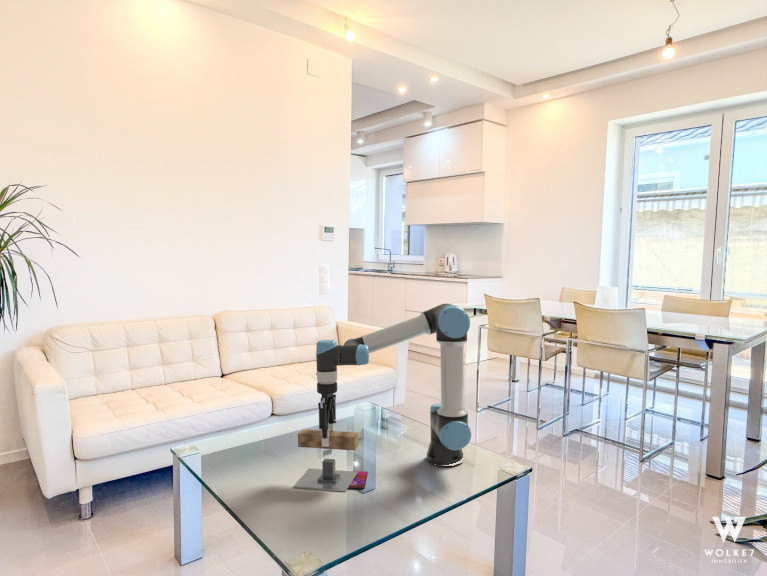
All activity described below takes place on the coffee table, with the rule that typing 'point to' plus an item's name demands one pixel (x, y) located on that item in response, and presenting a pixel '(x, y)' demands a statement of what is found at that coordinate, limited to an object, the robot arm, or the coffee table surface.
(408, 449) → the coffee table surface
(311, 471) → the stand
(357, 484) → the smartphone
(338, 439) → the walnut bar
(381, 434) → the coffee table surface
